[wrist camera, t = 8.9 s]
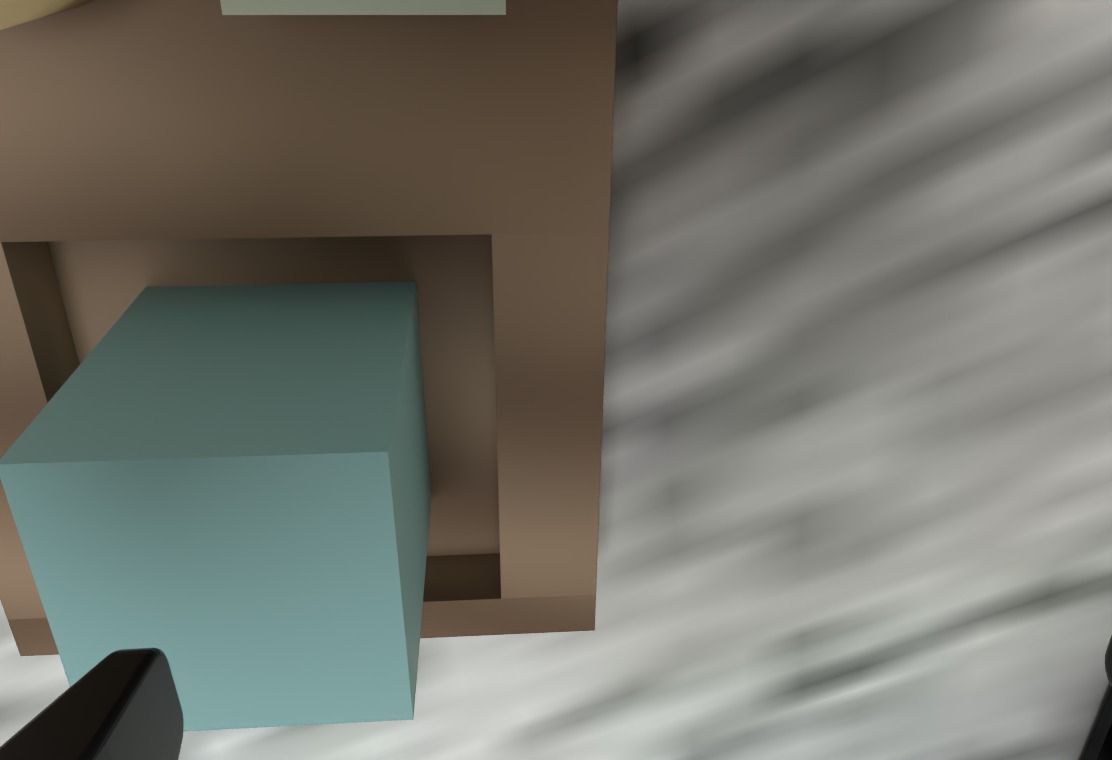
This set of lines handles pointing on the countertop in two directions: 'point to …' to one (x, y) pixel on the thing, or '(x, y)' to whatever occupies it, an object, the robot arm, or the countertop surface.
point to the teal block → (240, 500)
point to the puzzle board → (337, 236)
